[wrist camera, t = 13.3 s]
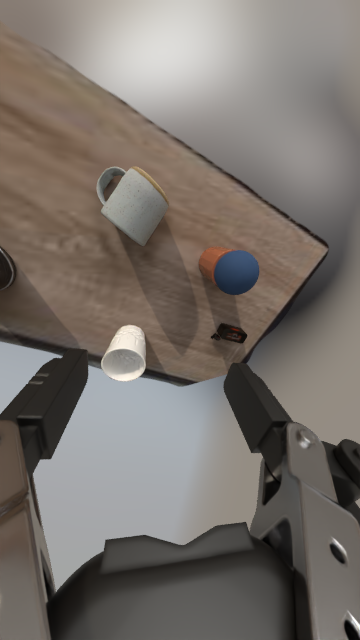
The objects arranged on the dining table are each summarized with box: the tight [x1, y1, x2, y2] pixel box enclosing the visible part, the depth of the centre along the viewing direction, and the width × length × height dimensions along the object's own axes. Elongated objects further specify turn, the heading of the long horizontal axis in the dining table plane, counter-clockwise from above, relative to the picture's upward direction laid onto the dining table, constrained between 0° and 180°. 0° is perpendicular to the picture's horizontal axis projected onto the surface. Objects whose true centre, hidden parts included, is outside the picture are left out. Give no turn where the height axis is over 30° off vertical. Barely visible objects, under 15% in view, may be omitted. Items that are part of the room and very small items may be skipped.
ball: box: [214, 250, 259, 295], centre depth 25 cm, size 6×6×6 cm
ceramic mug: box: [97, 167, 169, 246], centre depth 26 cm, size 11×8×8 cm
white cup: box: [101, 325, 146, 381], centre depth 36 cm, size 8×8×10 cm
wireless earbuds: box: [211, 323, 247, 343], centre depth 42 cm, size 5×7×3 cm, turn 70°
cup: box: [199, 247, 235, 286], centre depth 31 cm, size 6×6×9 cm
